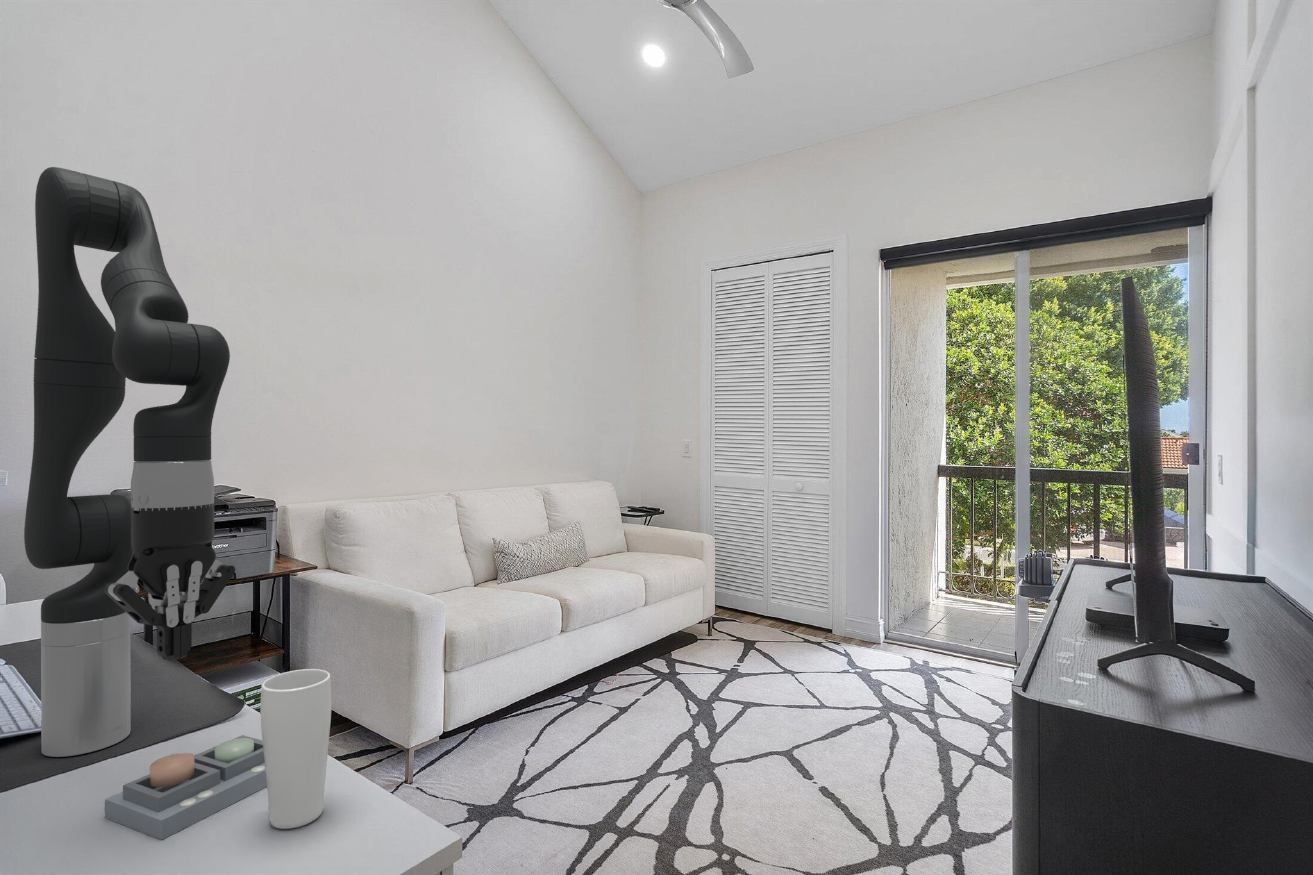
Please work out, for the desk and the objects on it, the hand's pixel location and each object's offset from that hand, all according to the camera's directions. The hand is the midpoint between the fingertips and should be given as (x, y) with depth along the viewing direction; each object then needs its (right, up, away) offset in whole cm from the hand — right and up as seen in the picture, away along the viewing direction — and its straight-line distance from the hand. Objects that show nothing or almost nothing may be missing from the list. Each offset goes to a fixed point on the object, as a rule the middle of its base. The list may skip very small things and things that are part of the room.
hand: (174, 657), depth 75 cm
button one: (+3, -14, +6) cm, 16 cm away
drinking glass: (+14, -17, -2) cm, 22 cm away
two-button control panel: (+1, -17, +3) cm, 17 cm away
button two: (0, -13, 0) cm, 13 cm away
